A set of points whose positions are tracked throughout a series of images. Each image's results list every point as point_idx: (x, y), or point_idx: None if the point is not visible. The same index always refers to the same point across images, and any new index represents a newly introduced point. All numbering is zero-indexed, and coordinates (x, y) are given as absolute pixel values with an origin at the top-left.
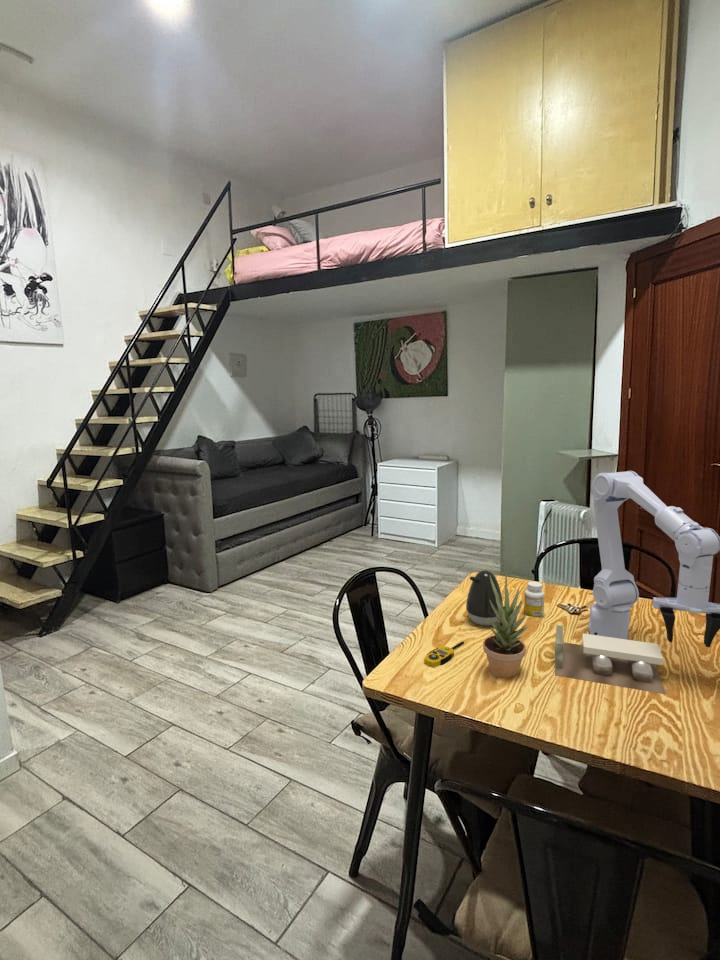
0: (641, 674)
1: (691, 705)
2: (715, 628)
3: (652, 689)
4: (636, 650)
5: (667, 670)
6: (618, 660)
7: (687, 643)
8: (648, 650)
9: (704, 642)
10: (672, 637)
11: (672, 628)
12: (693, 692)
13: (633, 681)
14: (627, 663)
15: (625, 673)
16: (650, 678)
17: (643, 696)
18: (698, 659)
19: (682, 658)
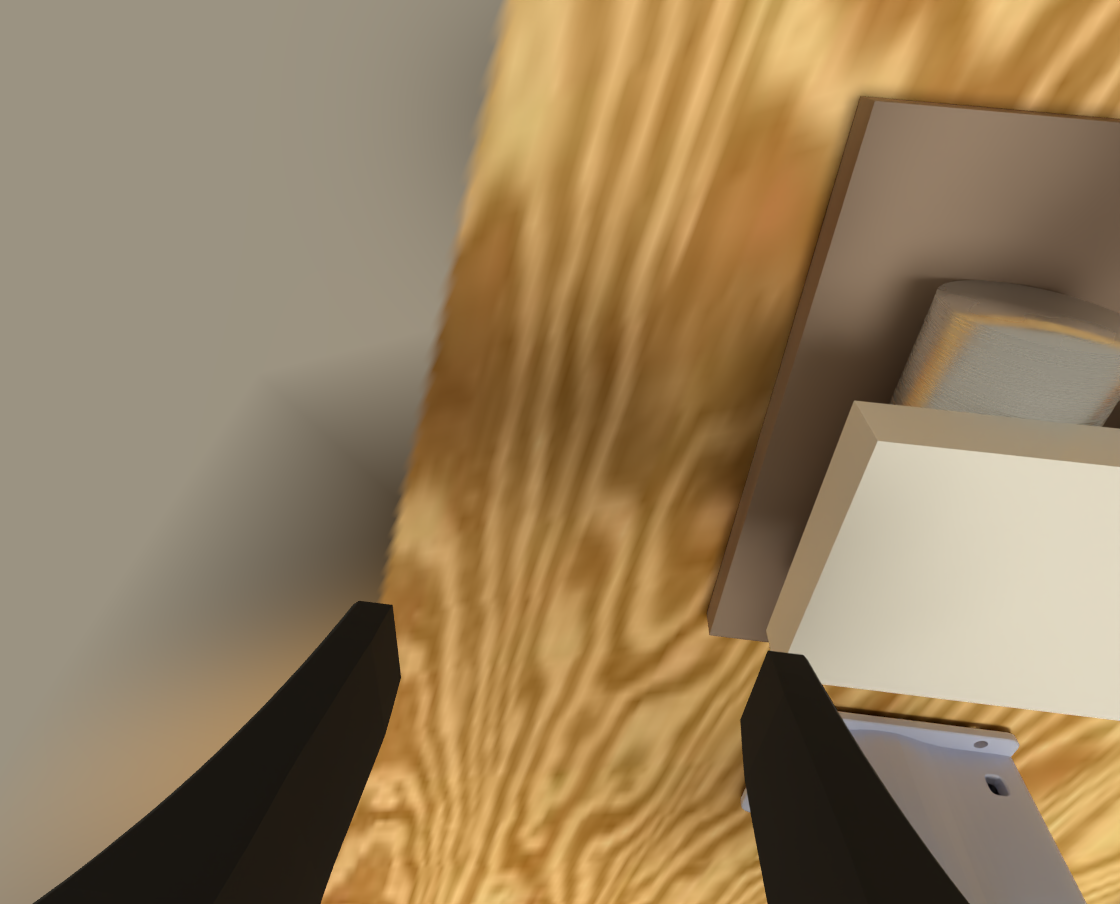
0: (1046, 308)
1: (665, 27)
2: (132, 895)
3: (969, 163)
4: (1094, 556)
5: (658, 516)
6: None
7: (457, 754)
8: (947, 572)
9: (395, 674)
10: (794, 706)
11: (862, 862)
12: (575, 268)
13: (1083, 268)
14: None
15: None
16: (949, 291)
17: (1072, 76)
18: (437, 643)
19: (521, 641)
